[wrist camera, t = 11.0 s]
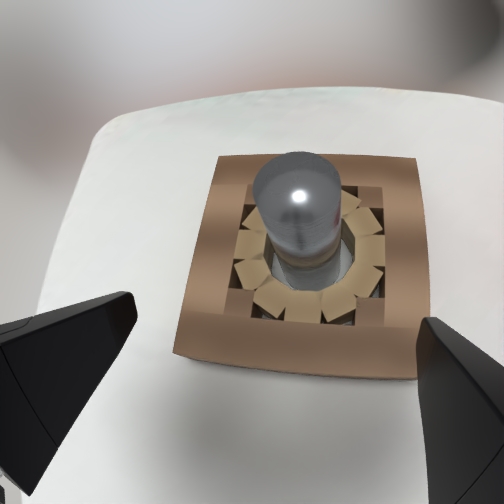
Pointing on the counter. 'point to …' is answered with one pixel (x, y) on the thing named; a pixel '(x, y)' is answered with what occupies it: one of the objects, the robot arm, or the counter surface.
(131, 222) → the counter surface
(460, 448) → the robot arm
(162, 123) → the counter surface
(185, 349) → the bearing housing
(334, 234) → the steel roller
